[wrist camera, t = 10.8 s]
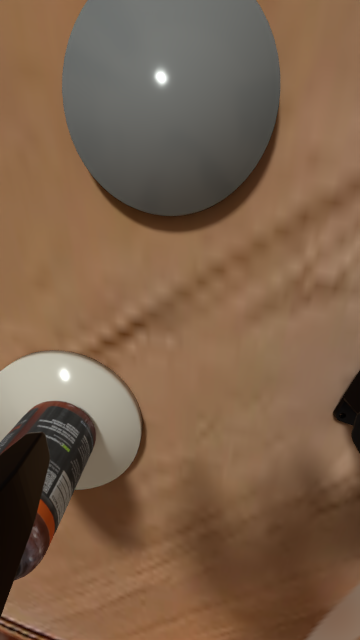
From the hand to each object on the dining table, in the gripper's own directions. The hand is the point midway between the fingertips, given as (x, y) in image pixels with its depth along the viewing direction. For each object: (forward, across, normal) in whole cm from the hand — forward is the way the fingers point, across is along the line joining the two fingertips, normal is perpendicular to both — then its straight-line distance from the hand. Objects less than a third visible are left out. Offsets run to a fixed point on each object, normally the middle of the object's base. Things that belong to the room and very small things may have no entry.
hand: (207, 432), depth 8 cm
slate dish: (+14, 0, -12) cm, 18 cm away
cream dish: (+14, +9, +11) cm, 20 cm away
